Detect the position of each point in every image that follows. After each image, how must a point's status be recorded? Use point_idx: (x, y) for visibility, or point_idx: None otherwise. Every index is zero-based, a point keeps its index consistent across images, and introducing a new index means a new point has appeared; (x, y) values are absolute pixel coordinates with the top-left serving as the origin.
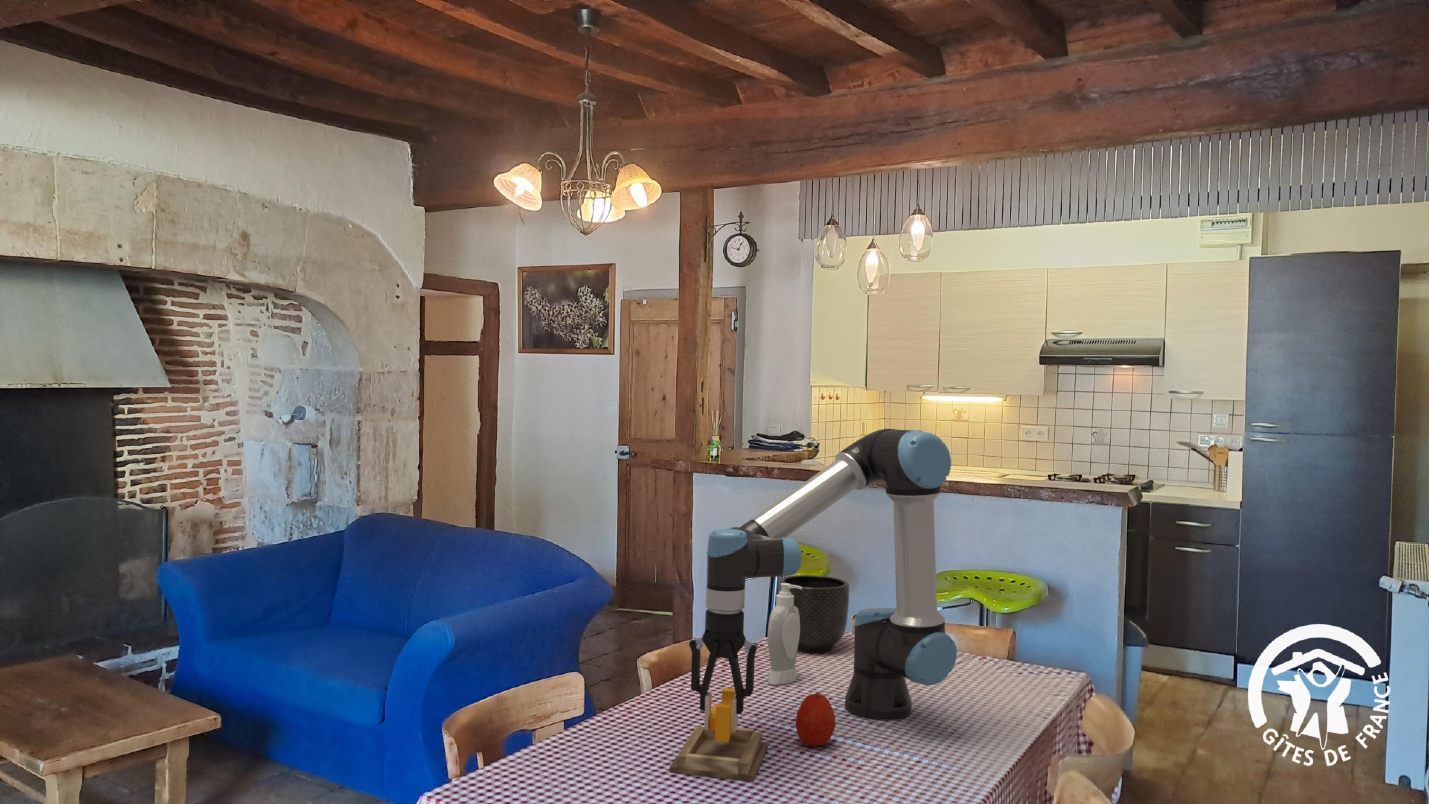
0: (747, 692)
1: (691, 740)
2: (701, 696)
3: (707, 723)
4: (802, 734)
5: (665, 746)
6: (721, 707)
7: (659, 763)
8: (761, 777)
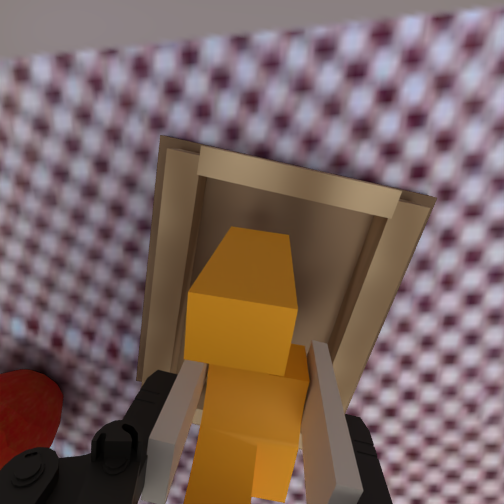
0: (29, 476)
1: (356, 346)
2: (383, 499)
3: (318, 357)
4: (34, 392)
5: (411, 378)
6: (253, 302)
7: (449, 264)
8: (145, 172)
